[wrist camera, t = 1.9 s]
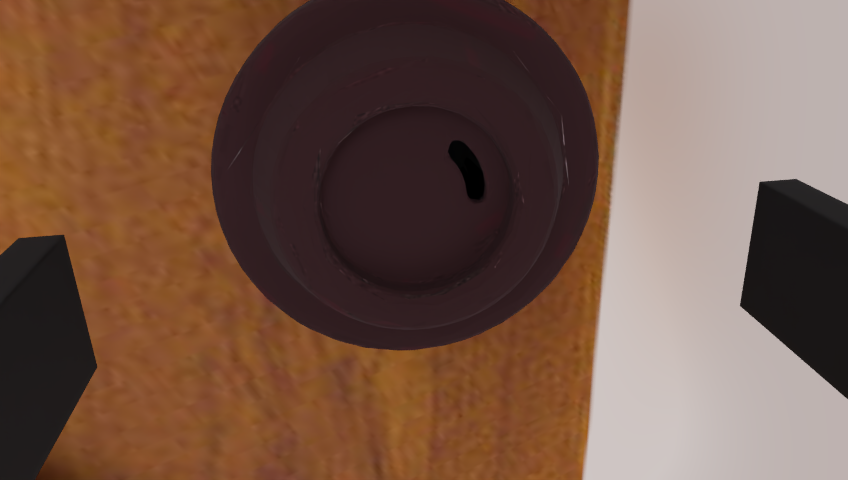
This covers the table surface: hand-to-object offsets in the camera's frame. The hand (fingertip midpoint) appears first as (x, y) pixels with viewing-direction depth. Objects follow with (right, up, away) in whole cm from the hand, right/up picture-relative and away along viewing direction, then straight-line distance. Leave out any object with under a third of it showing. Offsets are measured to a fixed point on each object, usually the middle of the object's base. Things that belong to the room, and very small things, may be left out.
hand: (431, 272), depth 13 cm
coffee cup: (-2, +7, +17) cm, 18 cm away
